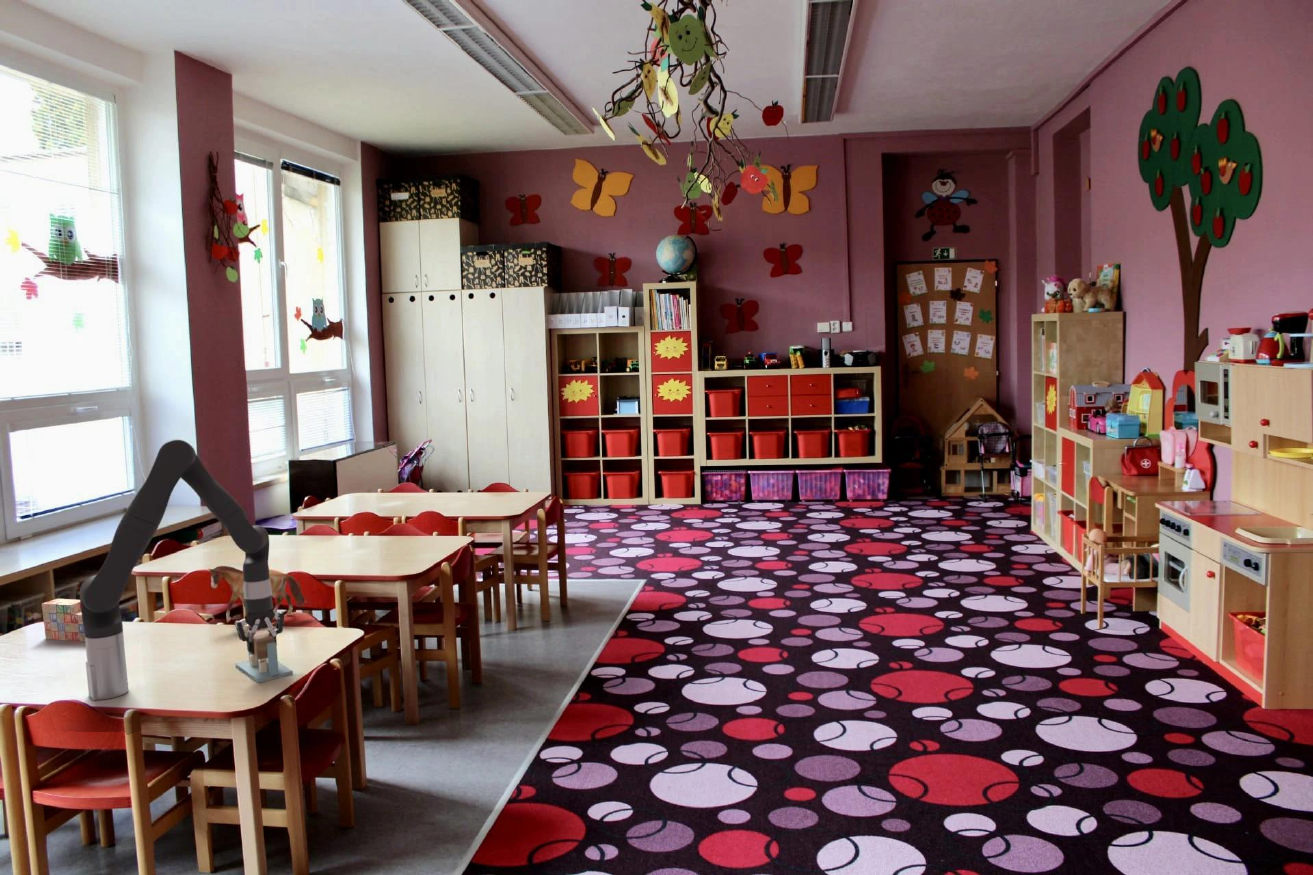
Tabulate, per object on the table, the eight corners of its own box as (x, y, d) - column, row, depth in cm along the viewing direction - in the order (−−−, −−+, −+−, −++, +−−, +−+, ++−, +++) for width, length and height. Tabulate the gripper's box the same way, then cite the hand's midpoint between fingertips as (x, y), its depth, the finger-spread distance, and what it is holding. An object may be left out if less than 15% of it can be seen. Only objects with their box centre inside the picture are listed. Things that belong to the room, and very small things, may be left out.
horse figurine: (211, 627, 332) (206, 568, 330) (216, 621, 340) (211, 563, 338) (307, 618, 340) (303, 560, 338) (310, 612, 347) (306, 555, 345)
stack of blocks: (110, 637, 325) (106, 601, 324) (94, 643, 319) (90, 606, 318) (61, 633, 332) (57, 597, 330) (44, 638, 326) (41, 602, 325)
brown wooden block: (249, 649, 290) (248, 632, 290) (267, 645, 293) (266, 629, 292) (257, 659, 280) (256, 642, 280) (276, 656, 283) (274, 639, 282)
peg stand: (257, 682, 277) (254, 648, 275) (235, 666, 291) (233, 634, 290) (292, 673, 283) (290, 640, 282) (269, 658, 297) (267, 626, 296)
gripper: (278, 587, 292) (282, 642, 294) (228, 597, 283) (232, 653, 285) (287, 591, 286) (291, 647, 288) (236, 602, 277) (241, 659, 279)
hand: (262, 650), depth 286 cm, fingers closed on brown wooden block, 5 cm apart
